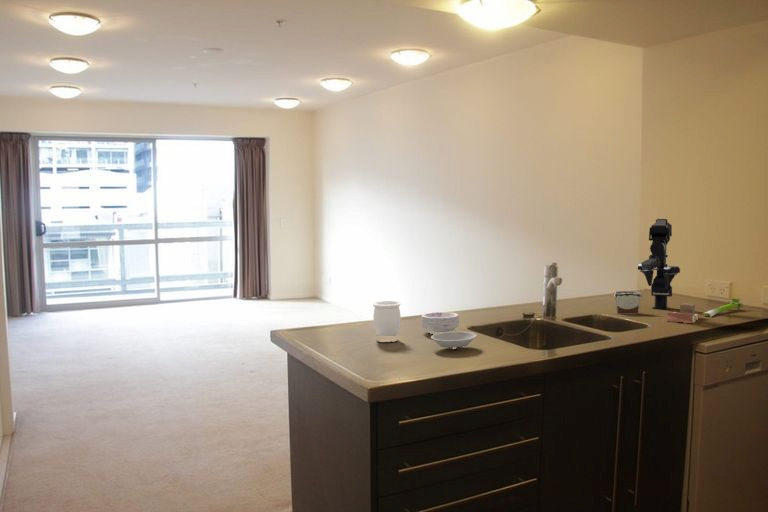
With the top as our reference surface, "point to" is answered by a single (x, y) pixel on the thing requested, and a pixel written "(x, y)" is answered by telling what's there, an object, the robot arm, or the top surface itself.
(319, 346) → the top surface
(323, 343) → the top surface
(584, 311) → the top surface
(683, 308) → the block
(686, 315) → the channel
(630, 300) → the food container
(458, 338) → the dish
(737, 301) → the leek
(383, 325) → the jar
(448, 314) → the paper bowls
